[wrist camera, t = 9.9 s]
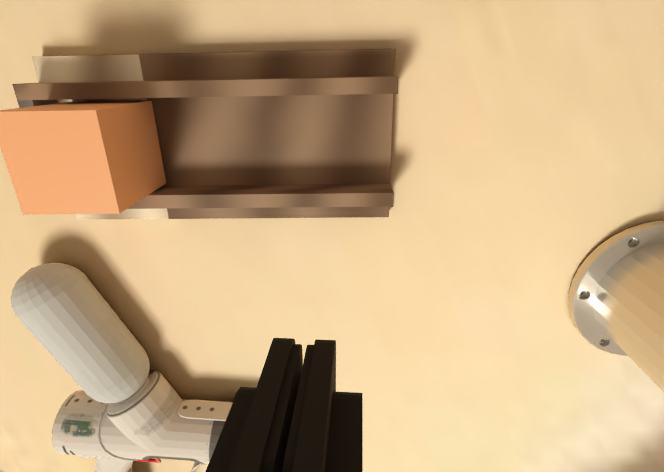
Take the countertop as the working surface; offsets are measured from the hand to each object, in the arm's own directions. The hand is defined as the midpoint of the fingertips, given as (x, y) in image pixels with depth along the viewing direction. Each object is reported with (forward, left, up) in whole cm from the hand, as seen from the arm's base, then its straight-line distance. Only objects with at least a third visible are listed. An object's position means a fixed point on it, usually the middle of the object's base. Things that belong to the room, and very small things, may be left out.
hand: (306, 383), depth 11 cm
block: (+16, -3, -21) cm, 26 cm away
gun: (+13, +23, -23) cm, 35 cm away
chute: (+8, -3, -23) cm, 24 cm away
